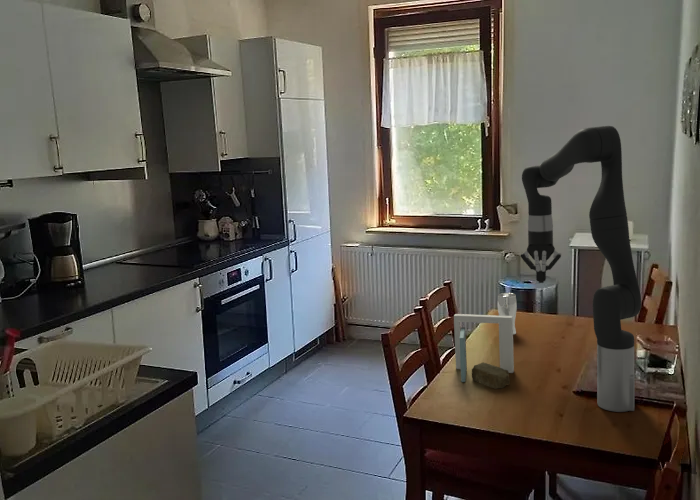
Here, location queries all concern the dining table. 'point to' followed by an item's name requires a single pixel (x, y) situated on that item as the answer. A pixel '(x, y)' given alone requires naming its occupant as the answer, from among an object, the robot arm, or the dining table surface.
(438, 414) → the dining table surface
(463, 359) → the door
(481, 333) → the dining table surface
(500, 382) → the stone block
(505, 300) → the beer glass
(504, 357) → the door frame
